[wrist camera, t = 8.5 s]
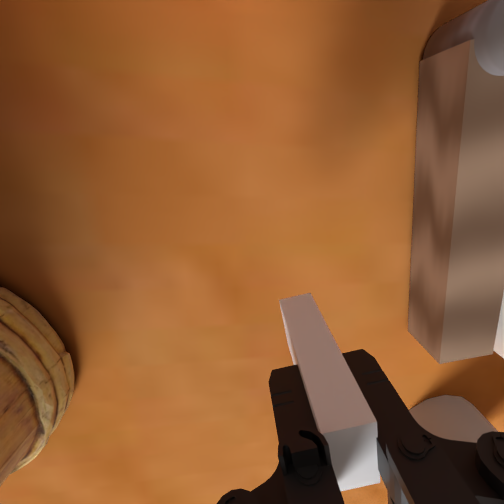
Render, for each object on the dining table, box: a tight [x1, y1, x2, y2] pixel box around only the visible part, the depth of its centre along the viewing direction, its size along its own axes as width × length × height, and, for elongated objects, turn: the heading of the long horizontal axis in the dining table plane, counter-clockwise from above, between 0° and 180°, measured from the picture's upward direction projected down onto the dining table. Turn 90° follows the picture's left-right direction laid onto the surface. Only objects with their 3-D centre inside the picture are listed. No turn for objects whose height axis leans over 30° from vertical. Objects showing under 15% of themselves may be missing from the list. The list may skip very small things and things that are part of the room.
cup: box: [409, 395, 498, 443], centre depth 25 cm, size 8×8×10 cm
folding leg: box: [408, 0, 504, 364], centre depth 19 cm, size 22×4×5 cm, turn 9°
